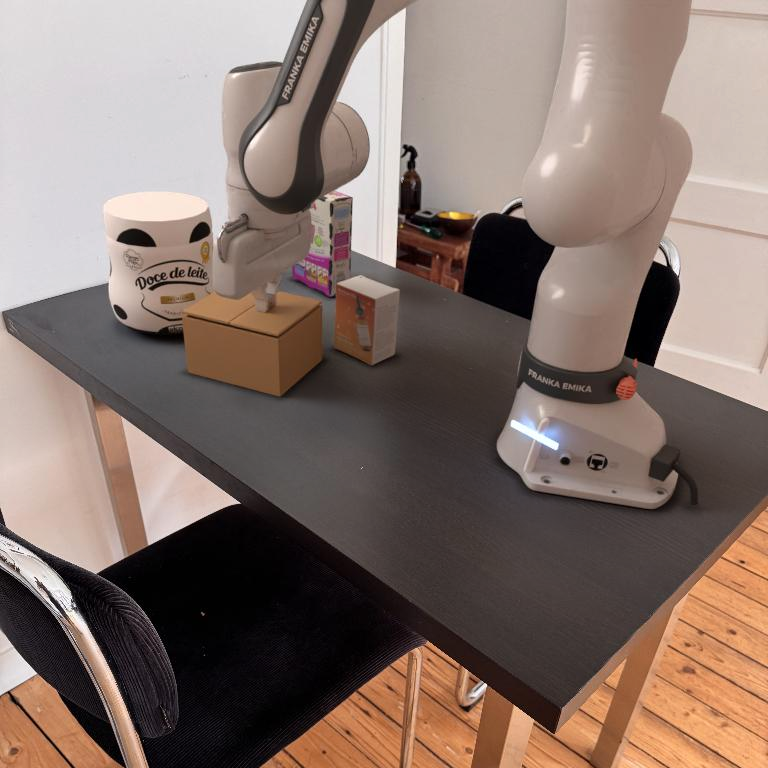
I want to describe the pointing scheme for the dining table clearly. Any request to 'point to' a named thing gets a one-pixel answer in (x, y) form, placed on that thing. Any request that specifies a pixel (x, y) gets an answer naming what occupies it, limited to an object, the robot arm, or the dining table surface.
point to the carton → (248, 346)
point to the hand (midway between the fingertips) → (266, 308)
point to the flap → (277, 314)
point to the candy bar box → (328, 244)
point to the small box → (366, 319)
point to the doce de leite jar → (158, 258)
